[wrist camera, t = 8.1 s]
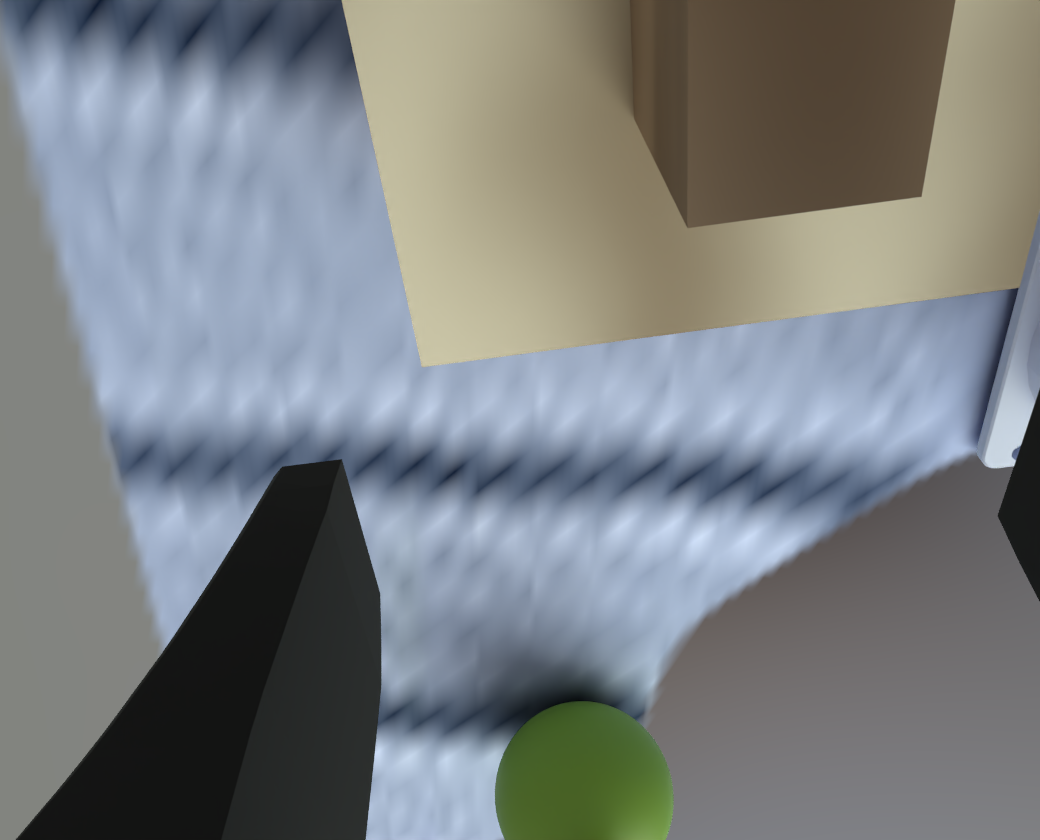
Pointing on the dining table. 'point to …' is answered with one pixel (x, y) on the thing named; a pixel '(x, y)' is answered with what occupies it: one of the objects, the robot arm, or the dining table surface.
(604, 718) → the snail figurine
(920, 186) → the lid
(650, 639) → the dining table surface
